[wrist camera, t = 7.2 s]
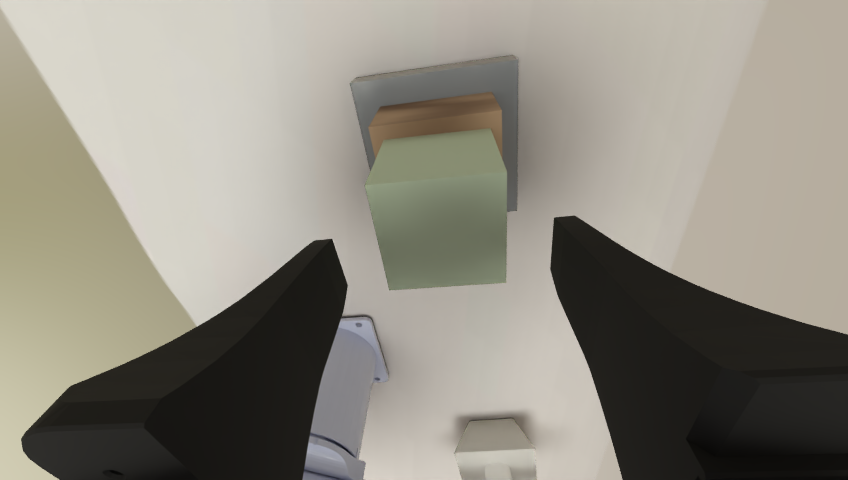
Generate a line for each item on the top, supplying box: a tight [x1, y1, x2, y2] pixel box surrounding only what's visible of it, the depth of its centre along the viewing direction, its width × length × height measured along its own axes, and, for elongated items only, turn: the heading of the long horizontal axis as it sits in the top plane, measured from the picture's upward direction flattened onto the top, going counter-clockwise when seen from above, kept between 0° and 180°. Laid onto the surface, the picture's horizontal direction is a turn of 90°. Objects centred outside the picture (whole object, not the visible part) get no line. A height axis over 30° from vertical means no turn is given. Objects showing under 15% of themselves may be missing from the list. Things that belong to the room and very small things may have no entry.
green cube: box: [365, 128, 507, 290], centre depth 14 cm, size 4×4×4 cm
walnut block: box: [368, 92, 502, 159], centre depth 18 cm, size 6×6×4 cm
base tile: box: [350, 55, 518, 212], centre depth 20 cm, size 8×8×2 cm
